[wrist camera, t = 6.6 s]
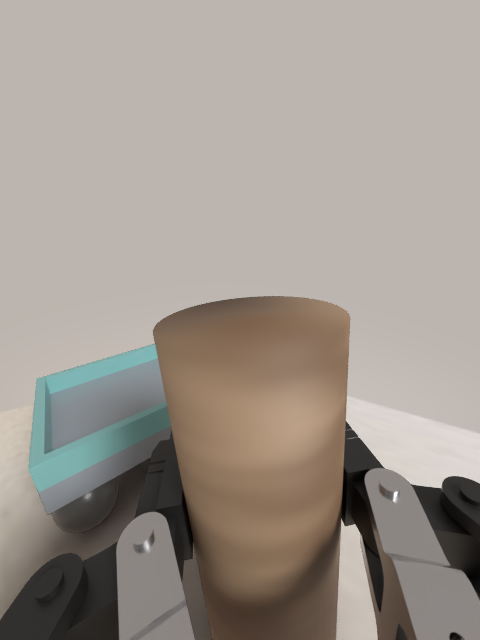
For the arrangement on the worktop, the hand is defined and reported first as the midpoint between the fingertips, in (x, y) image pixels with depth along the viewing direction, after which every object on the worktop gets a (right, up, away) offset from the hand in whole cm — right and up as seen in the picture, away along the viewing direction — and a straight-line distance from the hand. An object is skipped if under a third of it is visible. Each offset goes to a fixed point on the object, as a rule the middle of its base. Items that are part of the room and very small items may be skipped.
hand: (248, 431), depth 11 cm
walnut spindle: (+1, -8, 0) cm, 8 cm away
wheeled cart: (-9, -6, +11) cm, 15 cm away
